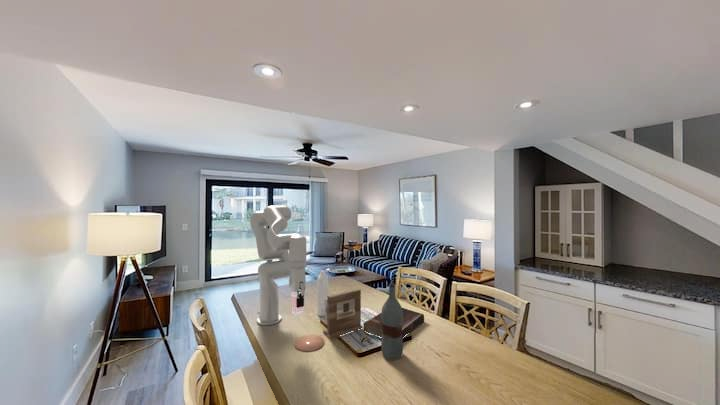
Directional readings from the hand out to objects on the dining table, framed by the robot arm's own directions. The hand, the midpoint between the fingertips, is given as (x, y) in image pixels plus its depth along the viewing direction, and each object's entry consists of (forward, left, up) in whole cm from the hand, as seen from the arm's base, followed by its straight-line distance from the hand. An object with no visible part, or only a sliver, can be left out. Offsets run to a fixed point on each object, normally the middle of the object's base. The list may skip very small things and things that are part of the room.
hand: (297, 303), depth 122 cm
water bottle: (-15, +33, -20) cm, 41 cm away
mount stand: (+7, +23, -19) cm, 31 cm away
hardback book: (+26, +42, -20) cm, 53 cm away
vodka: (+37, +19, -20) cm, 46 cm away
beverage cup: (0, 0, -4) cm, 4 cm away
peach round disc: (+2, +5, -19) cm, 20 cm away
